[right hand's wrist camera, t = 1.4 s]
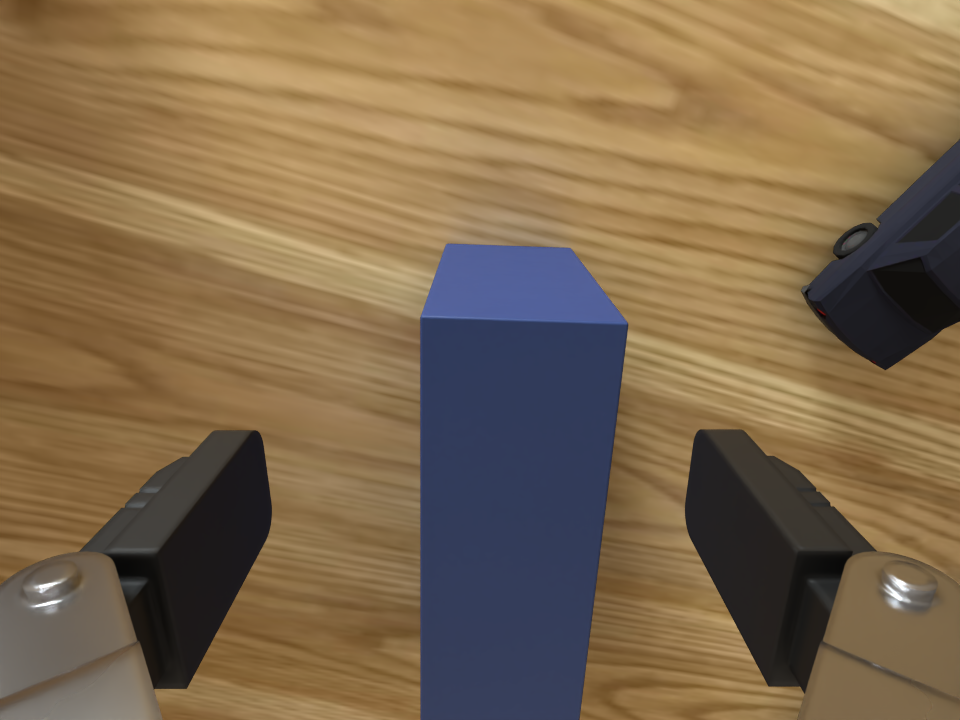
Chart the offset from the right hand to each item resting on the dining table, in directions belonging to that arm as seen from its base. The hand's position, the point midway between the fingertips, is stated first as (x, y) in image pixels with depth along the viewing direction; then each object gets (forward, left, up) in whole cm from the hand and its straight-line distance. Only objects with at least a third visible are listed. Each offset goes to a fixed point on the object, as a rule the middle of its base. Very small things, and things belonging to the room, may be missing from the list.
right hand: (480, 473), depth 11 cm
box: (-1, +13, -20) cm, 24 cm away
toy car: (-22, -3, -20) cm, 30 cm away
